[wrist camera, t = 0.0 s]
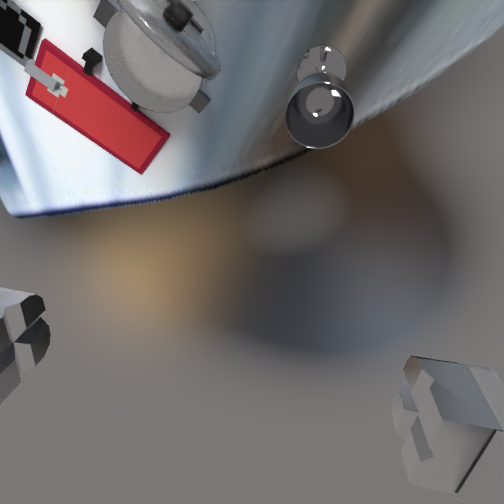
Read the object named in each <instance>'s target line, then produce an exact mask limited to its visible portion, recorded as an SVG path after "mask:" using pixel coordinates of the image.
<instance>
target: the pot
mask: <svg viewBox="0 0 504 504" xmlns="http://www.w3.org/2000/svg"><path fill="white" fill-rule="evenodd" d="M168 1H169V2H170V1H171V0H168ZM182 1H183V2H184V3H185V4H186V5H187V6H188V7H189V8H190V9H191V10H192V12H193V14H194V16H193V17H192V18H191V20H190V21H189V22H190V23H191V24H192V25H193V26H194V27H195V28H196V30H197V31H198V32H199V33H200V34H201V35H202V37H203V38H204V39H205V40H206V42H207V43H208V44H209V46H210V47H211V49H212V50H213V52H214V53H215V55H216V44H215V37H214V34H213V30H212V28H211V25H210V23H209V21H208V19H207V18H206V16H205V15H204V13H203V12H202V10H201V9H200V8H199V7H198V6H197V5H196V4H195V3H194V2H193V1H191V0H182ZM93 17H94V18H95V19H96V20H97V21H98V22H99V23H101V24H102V25H103V26H104V27H105V28H106V29H105V33H104V39H103V51H104V58H105V62H106V65H107V68H108V70H109V72H110V75H111V77H112V78H113V80H114V82H115V83H116V85H117V86H118V87H119V89H120V90H121V91H122V92H123V93H124V94H125V95H126V96H127V97H128V98H129V99H130V100H132V101H133V102H134V103H136V104H137V105H139V106H141V107H143V108H145V109H147V110H150V111H154V112H160V113H169V112H174V111H177V110H180V109H182V108H184V107H185V106H186V105H188V104H189V105H190V106H191V107H193V108H194V109H195V110H196V111H197V112H198V113H200V112H201V111H202V110H203V109H204V107H205V106H206V105H207V104H208V103H209V101H210V100H211V99H210V98H209V97H208V96H207V95H206V94H205V93H204V92H203V91H202V90H201V89H200V88H201V86H202V85H203V83H204V82H205V80H206V79H204V78H202V77H200V76H198V75H196V74H194V73H192V72H191V71H189V70H187V69H186V68H184V67H183V66H182V65H180V64H179V63H178V62H176V61H175V60H174V59H172V58H171V57H170V56H169V55H167V54H166V53H165V52H164V51H163V50H162V49H160V48H159V47H158V46H157V45H156V44H155V43H154V42H153V41H152V40H151V39H150V38H149V37H148V36H147V35H146V34H145V33H144V32H143V31H142V30H141V29H140V28H139V27H138V26H137V25H136V24H135V23H134V22H133V21H132V20H131V18H130V17H129V16H128V15H127V14H126V12H125V11H124V10H123V9H120V10H119V11H118V10H117V9H116V8H115V7H114V6H112V5H111V4H110V3H109V2H108V1H107V0H101V2H100V4H99V6H98V8H97V10H96V12H95V14H94V16H93Z"/></svg>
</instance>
